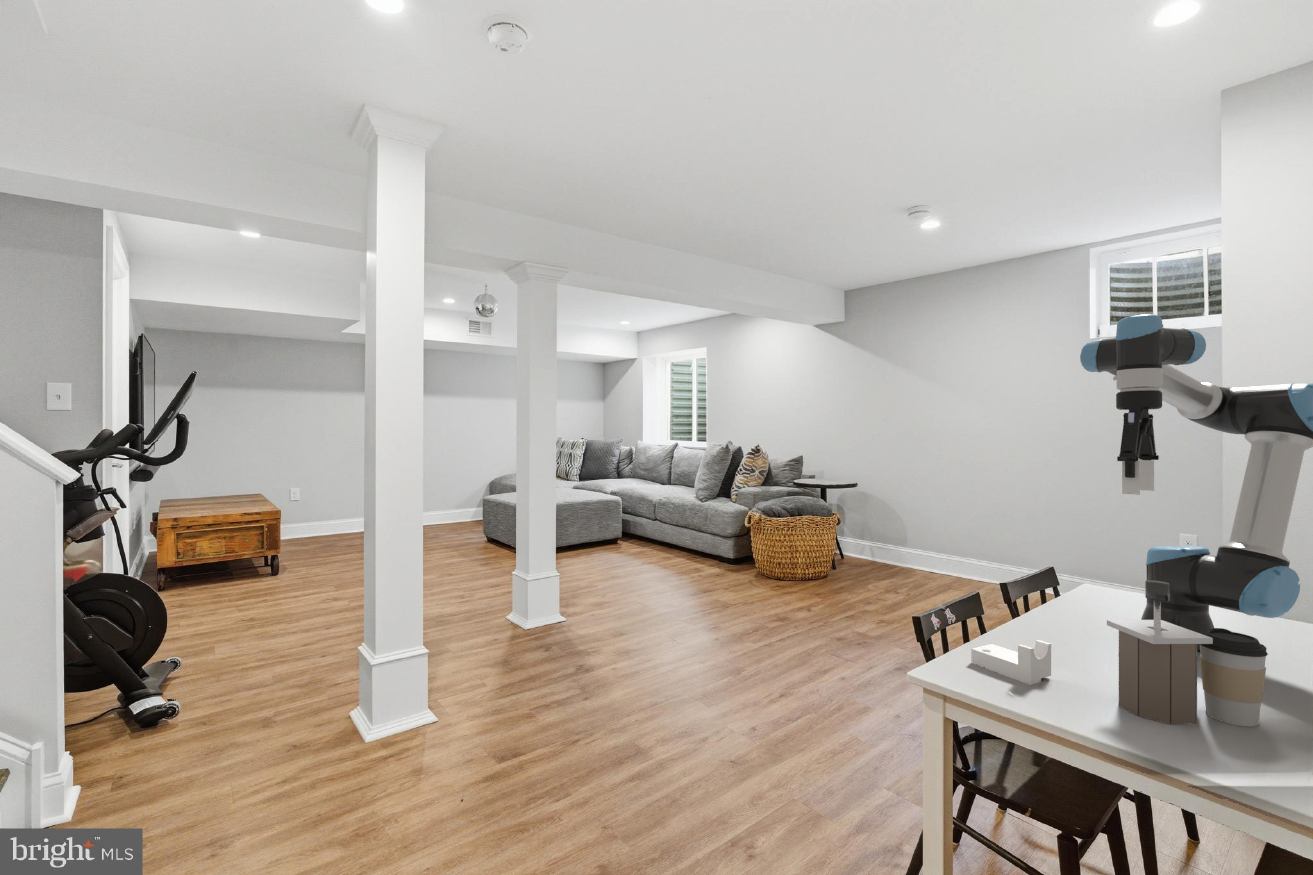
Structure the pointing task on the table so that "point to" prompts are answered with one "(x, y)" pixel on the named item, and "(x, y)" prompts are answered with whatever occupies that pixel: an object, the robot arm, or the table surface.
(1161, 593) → the plunger
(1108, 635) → the table surface
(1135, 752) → the table surface
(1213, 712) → the coffee cup
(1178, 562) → the robot arm
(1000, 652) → the bracket
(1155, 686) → the brown pedestal
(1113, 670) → the table surface
